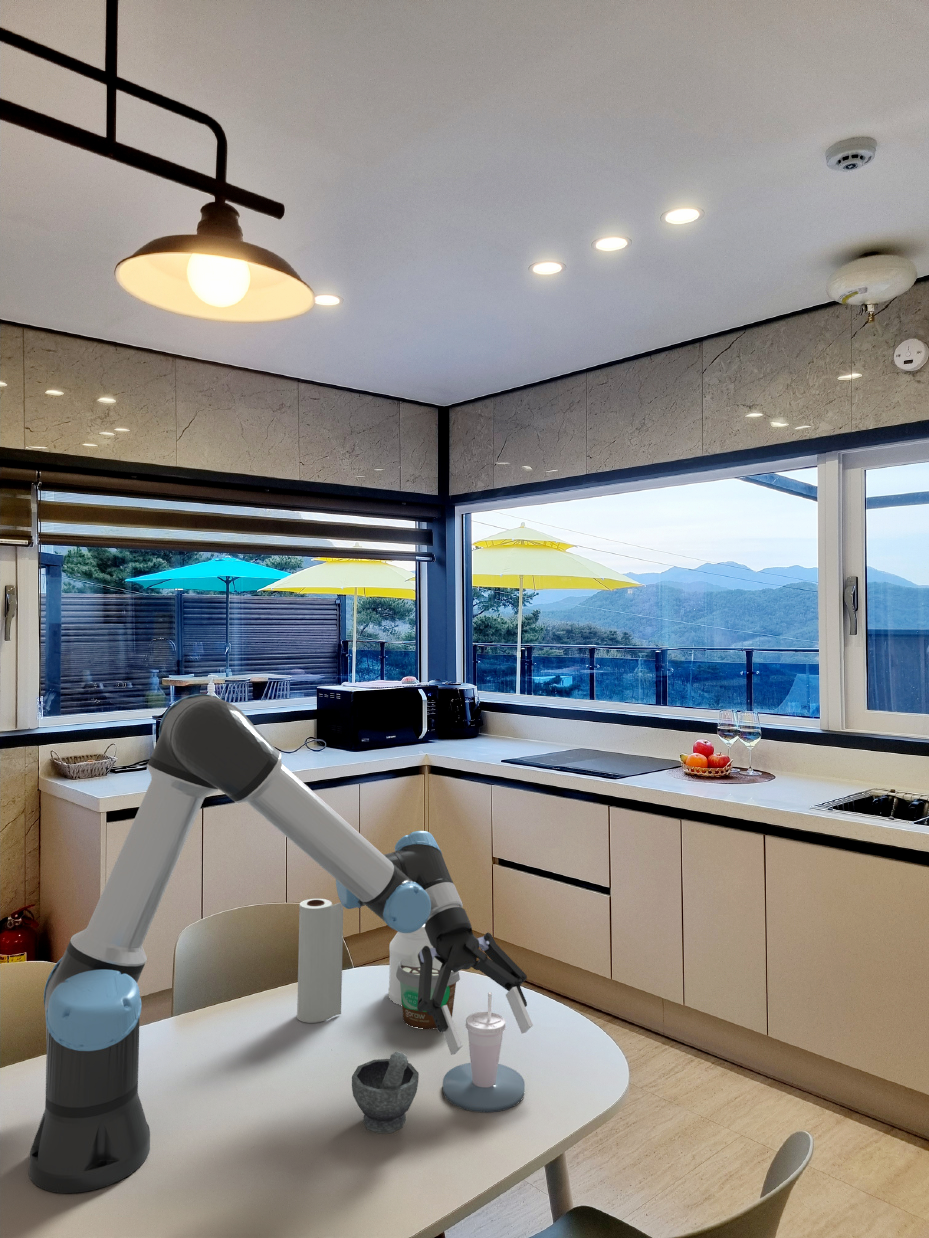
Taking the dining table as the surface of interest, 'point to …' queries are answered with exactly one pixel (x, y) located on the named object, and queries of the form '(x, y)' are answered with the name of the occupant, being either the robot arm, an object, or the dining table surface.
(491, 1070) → the smoothie
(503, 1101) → the dish
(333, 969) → the paper towel roll
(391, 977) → the jar
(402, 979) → the food container
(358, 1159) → the dining table surface
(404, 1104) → the mortar and pestle
